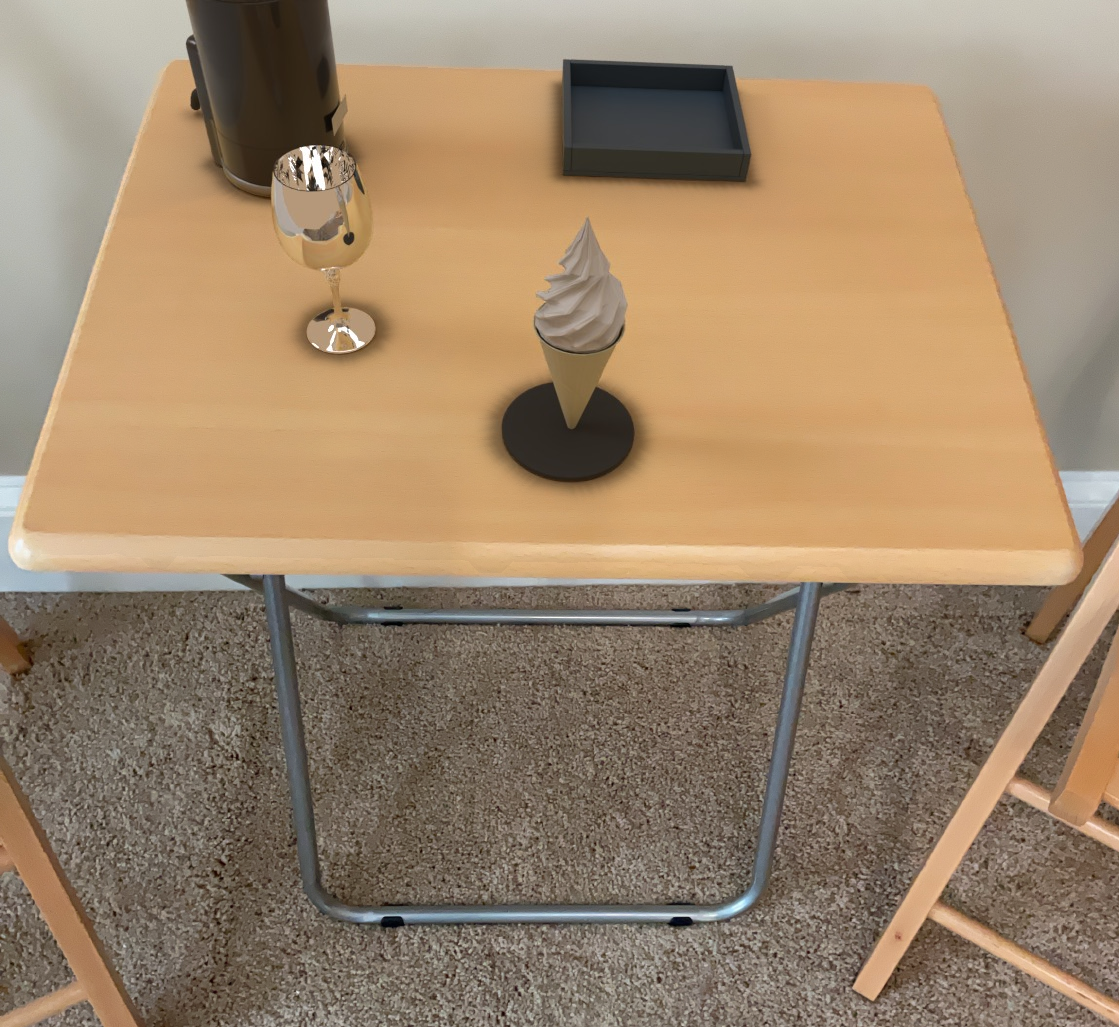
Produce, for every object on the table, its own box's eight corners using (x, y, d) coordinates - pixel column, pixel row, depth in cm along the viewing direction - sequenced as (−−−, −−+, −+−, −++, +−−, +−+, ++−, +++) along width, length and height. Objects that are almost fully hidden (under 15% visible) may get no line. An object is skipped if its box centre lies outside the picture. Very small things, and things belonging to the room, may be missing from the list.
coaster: (476, 447, 62) (476, 442, 61) (544, 368, 66) (544, 364, 66) (594, 501, 59) (594, 497, 59) (656, 416, 64) (656, 412, 64)
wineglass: (313, 371, 65) (281, 208, 56) (284, 316, 68) (249, 152, 59) (399, 345, 67) (382, 182, 58) (367, 292, 70) (345, 130, 61)
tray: (562, 175, 80) (564, 147, 78) (561, 86, 88) (563, 58, 86) (745, 181, 80) (751, 154, 78) (727, 92, 88) (732, 65, 87)
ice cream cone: (537, 461, 61) (545, 250, 49) (523, 400, 64) (528, 188, 52) (621, 453, 61) (648, 242, 50) (604, 393, 64) (626, 182, 53)
